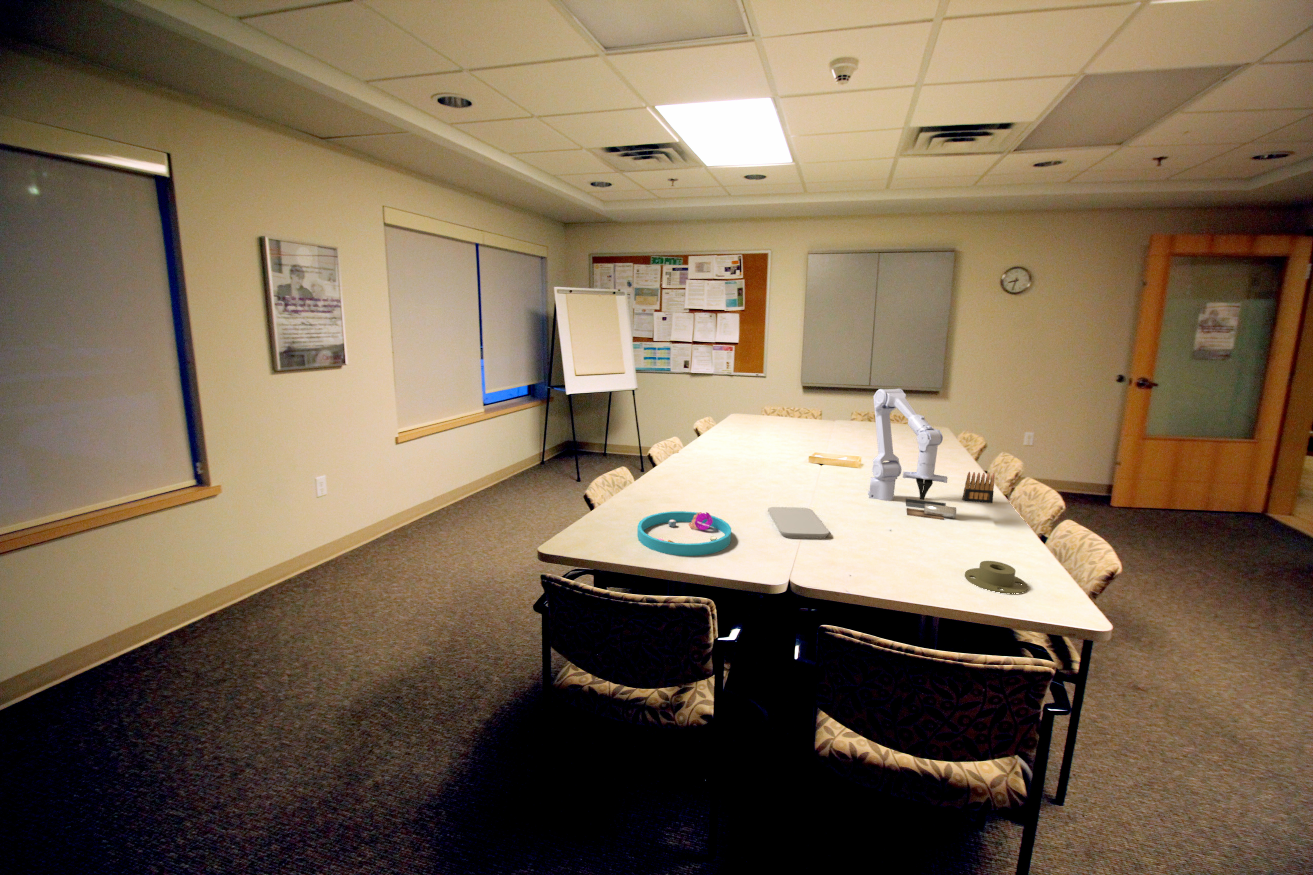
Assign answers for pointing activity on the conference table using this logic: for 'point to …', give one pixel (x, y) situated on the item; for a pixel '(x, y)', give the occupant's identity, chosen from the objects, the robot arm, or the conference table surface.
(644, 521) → the teal round ring
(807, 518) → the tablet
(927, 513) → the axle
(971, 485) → the ammunition clip
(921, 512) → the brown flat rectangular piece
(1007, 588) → the flange
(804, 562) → the conference table surface
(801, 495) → the conference table surface
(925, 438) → the robot arm
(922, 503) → the cradle
